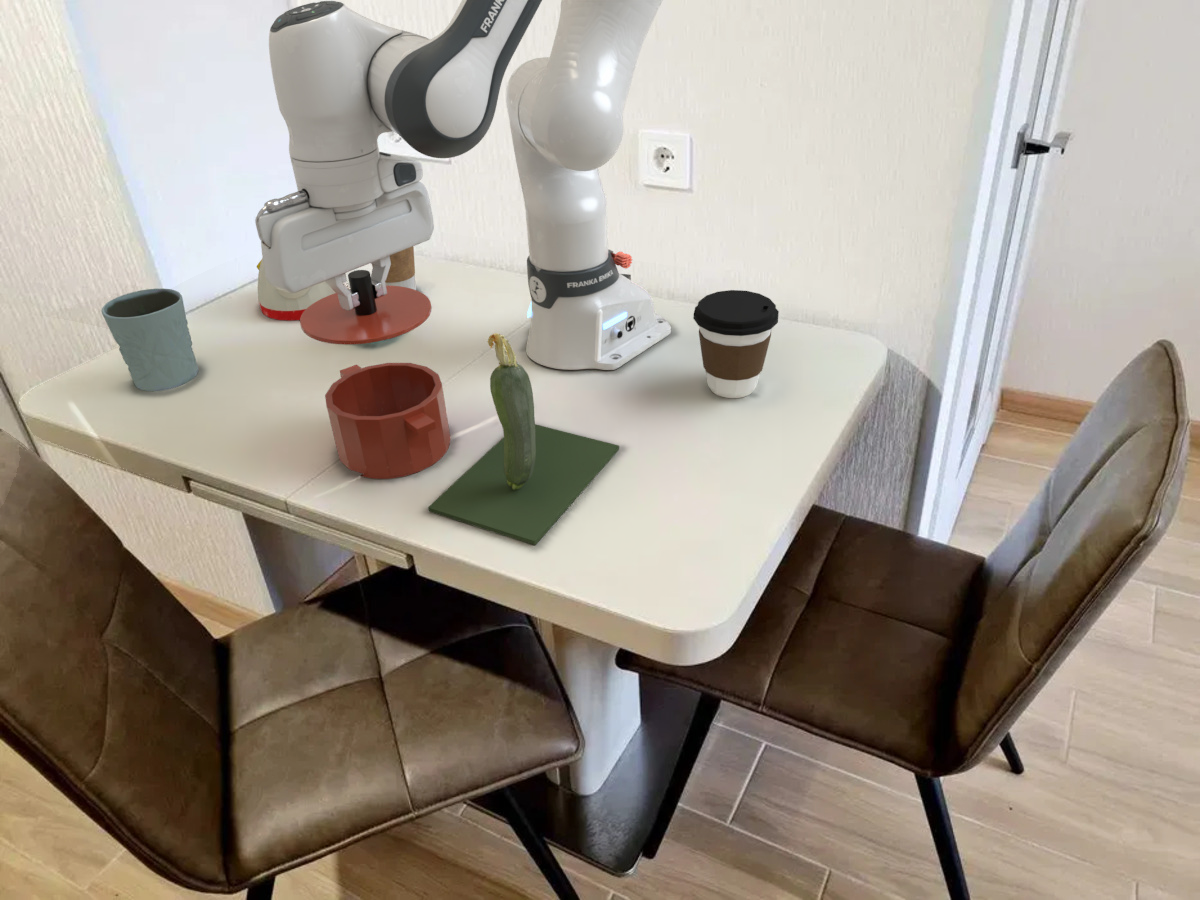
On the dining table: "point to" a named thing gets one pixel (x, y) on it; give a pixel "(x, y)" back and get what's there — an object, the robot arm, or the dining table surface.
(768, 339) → the coffee cup
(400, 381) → the pot
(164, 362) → the blue-grey cup
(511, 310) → the dining table surface
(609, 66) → the robot arm
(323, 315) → the pot lid
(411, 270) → the coffee cup
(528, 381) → the vegetable
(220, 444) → the dining table surface
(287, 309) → the kitchen timer
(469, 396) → the dining table surface
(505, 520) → the mat
